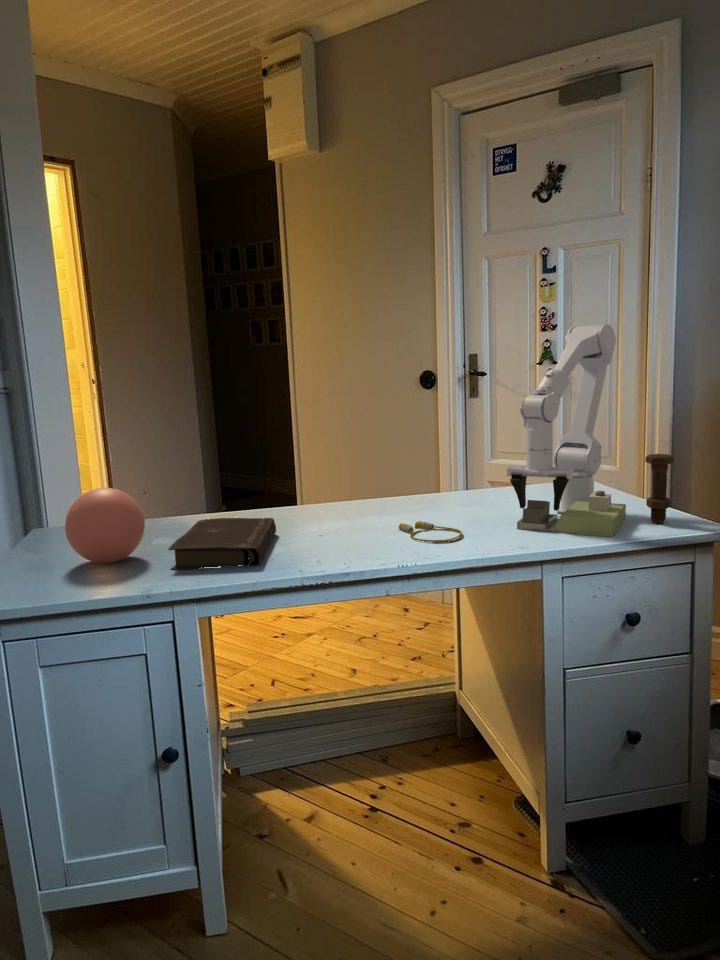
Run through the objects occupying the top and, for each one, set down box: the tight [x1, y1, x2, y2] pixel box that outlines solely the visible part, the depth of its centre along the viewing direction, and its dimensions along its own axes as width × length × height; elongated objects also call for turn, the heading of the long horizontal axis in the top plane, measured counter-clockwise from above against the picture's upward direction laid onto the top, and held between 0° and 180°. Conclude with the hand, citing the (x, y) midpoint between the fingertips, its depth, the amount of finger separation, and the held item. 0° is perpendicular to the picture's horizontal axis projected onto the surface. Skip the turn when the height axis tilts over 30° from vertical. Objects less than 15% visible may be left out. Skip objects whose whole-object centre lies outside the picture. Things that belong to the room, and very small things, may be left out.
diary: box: [168, 517, 277, 572], centre depth 154 cm, size 19×25×5 cm
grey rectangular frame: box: [516, 513, 560, 533], centre depth 163 cm, size 10×9×2 cm
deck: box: [558, 490, 627, 538], centre depth 160 cm, size 16×11×7 cm
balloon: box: [64, 487, 146, 564], centre depth 151 cm, size 15×20×15 cm
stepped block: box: [521, 499, 551, 524], centre depth 162 cm, size 7×4×5 cm, turn 151°
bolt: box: [645, 453, 675, 525], centre depth 159 cm, size 6×5×15 cm
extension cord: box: [398, 520, 463, 543], centre depth 160 cm, size 12×16×2 cm
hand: (539, 508), depth 164 cm, fingers open, 7 cm apart
